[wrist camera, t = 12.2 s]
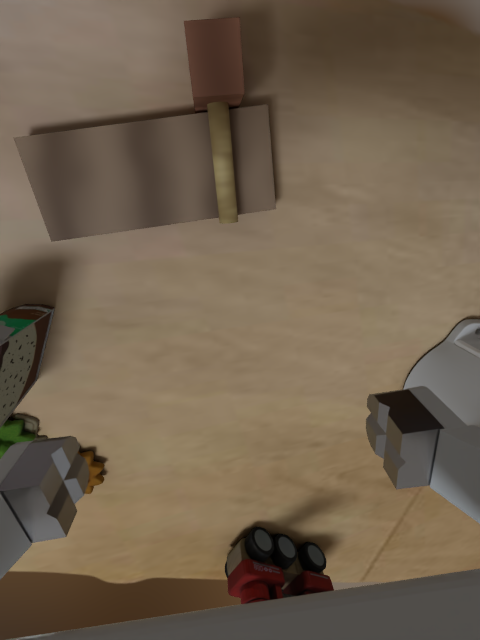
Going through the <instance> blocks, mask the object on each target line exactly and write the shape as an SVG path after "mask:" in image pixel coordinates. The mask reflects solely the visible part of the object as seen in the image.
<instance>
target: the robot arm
mask: <svg viewBox="0 0 480 640" xmlns="http://www.w3.org/2000/svg"><path fill="white" fill-rule="evenodd" d="M367 407H368V409H369V410H370V412H371V414H370V415H369V416H368V417H367V419H366V431H367V436H368V440H369V442H370V445H371V447H372V449H373V451H374V452H375V454H377V455H378V456H380V457H382V458H383V459H384V463H383V468H384V470H385V471H386V473H387V475H388V476H389V478H390V480H391V481H392V483H393V485H394V486H395V488H396V489H402V488H411V487H419V486H428V485H430V488H432V489H433V490H435V491H436V492H437V493H439V494H440V495H441V496H443V497H444V498H445V499H447V500H448V501H450V502H451V503H452V504H454V505H455V506H456V507H458V508H459V509H461V510H462V511H463V512H465V513H466V514H467V515H469V516H470V517H472V518H473V519H474V520H476V521H477V522H478V523H480V319H467V320H464V321H462V322H460V323H459V324H458V325H457V326H456V327H455V328H454V330H453V331H452V332H451V333H450V335H449V336H448V337H447V339H446V340H445V341H444V342H443V343H441V344H440V345H439V346H437V347H436V348H434V349H433V350H432V351H430V352H429V353H428V354H427V355H425V356H424V357H423V358H422V359H421V360H420V361H419V362H418V363H417V365H416V366H415V367H414V368H413V370H412V371H411V373H410V374H409V376H408V378H407V380H406V383H405V385H404V389H403V390H396V391H389V392H382V393H376V394H369V396H368V399H367ZM79 448H80V445H79V443H78V441H77V439H76V437H73V436H66V437H58V438H49V439H41V440H35V441H26V442H18V443H15V444H13V445H12V446H10V447H9V449H8V450H7V451H6V452H5V454H4V455H3V456H2V458H1V459H0V579H1V578H2V577H3V576H4V575H5V574H6V572H7V571H8V570H9V569H10V568H11V567H12V566H13V565H14V564H15V563H16V562H17V560H18V559H19V558H20V557H21V556H22V555H23V554H24V553H25V552H26V551H27V550H28V548H29V547H30V546H31V545H32V544H31V543H34V542H40V541H45V540H51V539H57V538H63V537H66V536H67V534H68V532H69V529H70V527H71V525H72V522H73V520H74V518H75V515H76V513H77V509H76V506H75V503H76V502H77V501H78V500H79V499H80V498H81V497H83V496H84V494H85V491H86V489H87V486H88V480H89V468H88V464H87V461H86V459H85V458H84V457H82V456H81V455H79V454H78V453H77V452H78V450H79ZM7 640H480V569H474V570H468V571H461V572H454V573H448V574H441V575H434V576H428V577H421V578H414V579H407V580H401V581H394V582H387V583H381V584H374V585H367V586H361V587H355V588H348V589H341V590H334V591H327V592H321V593H314V594H307V595H300V596H294V597H287V598H280V599H274V600H267V601H260V602H254V603H247V604H240V605H234V606H227V607H221V608H214V609H207V610H201V611H194V612H187V613H181V614H175V615H168V616H161V617H155V618H148V619H141V620H135V621H128V622H122V623H114V624H108V625H101V626H95V627H88V628H81V629H75V630H68V631H61V632H54V633H48V634H41V635H34V636H28V637H21V638H15V639H7Z"/></svg>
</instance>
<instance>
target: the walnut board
mask: <svg viewBox="0 0 480 640" xmlns="http://www.w3.org/2000/svg"><path fill="white" fill-rule="evenodd" d="M229 119H230V131H231V143H232V155H233V167H234V178H235V190H236V202H237V214H238V215H239V214H246V213H252V212H259V211H266V210H273V209H276V203H275V190H274V177H273V164H272V151H271V138H270V125H269V112H268V104H266V105H258V106H251V107H243V108H235V109H229ZM14 140H15V143H16V146H17V149H18V151H19V154H20V157H21V160H22V162H23V165H24V168H25V170H26V173H27V176H28V179H29V181H30V184H31V187H32V190H33V192H34V195H35V198H36V200H37V203H38V206H39V209H40V211H41V214H42V217H43V220H44V222H45V225H46V228H47V231H48V233H49V236H50V239H51V241H59V240H66V239H73V238H80V237H87V236H94V235H100V234H107V233H114V232H121V231H128V230H135V229H142V228H149V227H156V226H163V225H170V224H176V223H183V222H190V221H197V220H204V219H211V218H218V217H219V212H218V203H217V193H216V184H215V175H214V165H213V156H212V147H211V137H210V128H209V119H208V112H205V113H197V114H190V115H182V116H175V117H167V118H159V119H152V120H144V121H137V122H129V123H121V124H114V125H106V126H99V127H91V128H83V129H76V130H68V131H61V132H53V133H46V134H38V135H30V136H23V137H15V138H14Z"/></svg>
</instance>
